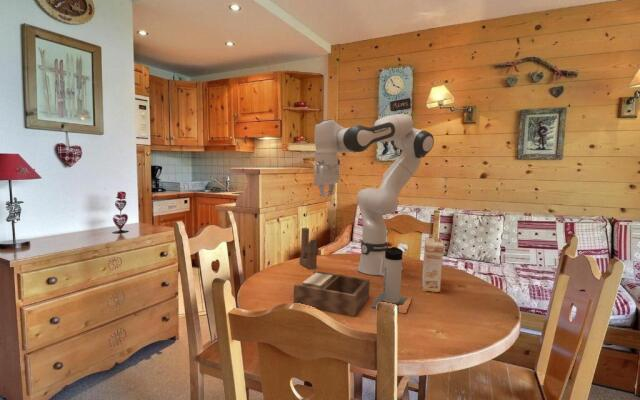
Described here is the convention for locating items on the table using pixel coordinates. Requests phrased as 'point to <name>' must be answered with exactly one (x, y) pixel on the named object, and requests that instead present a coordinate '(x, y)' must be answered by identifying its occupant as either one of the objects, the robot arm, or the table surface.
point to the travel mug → (392, 275)
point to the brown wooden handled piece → (308, 250)
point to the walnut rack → (335, 294)
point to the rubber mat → (379, 299)
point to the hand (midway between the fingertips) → (327, 195)
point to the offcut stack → (318, 280)
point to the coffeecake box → (432, 264)
